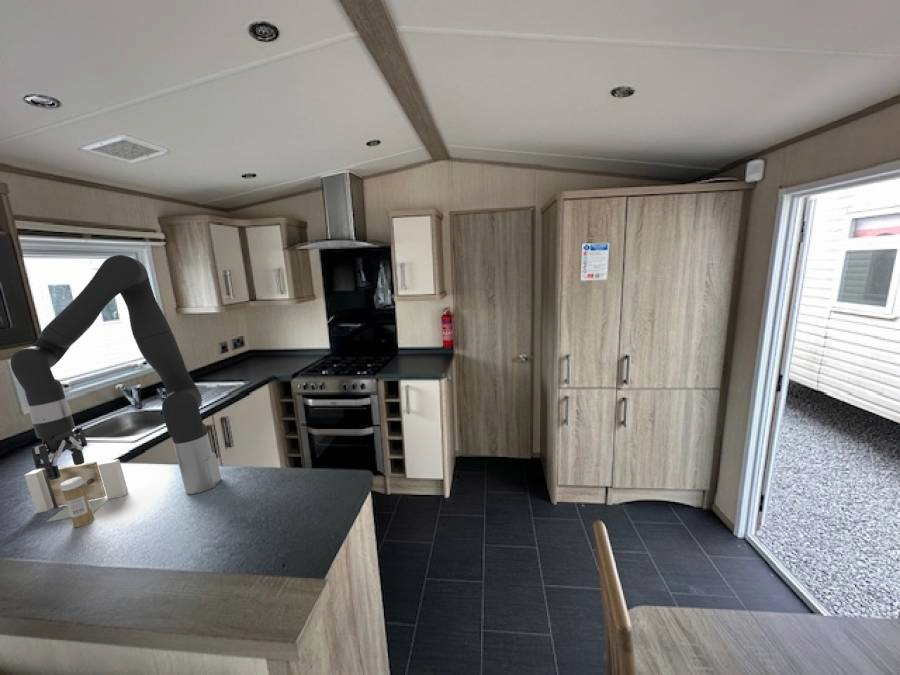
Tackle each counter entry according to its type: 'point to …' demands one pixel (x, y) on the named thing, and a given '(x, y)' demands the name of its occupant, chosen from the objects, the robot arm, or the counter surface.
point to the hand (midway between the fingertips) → (68, 471)
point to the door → (85, 471)
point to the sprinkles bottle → (77, 501)
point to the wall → (113, 478)
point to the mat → (65, 514)
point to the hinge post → (39, 490)
